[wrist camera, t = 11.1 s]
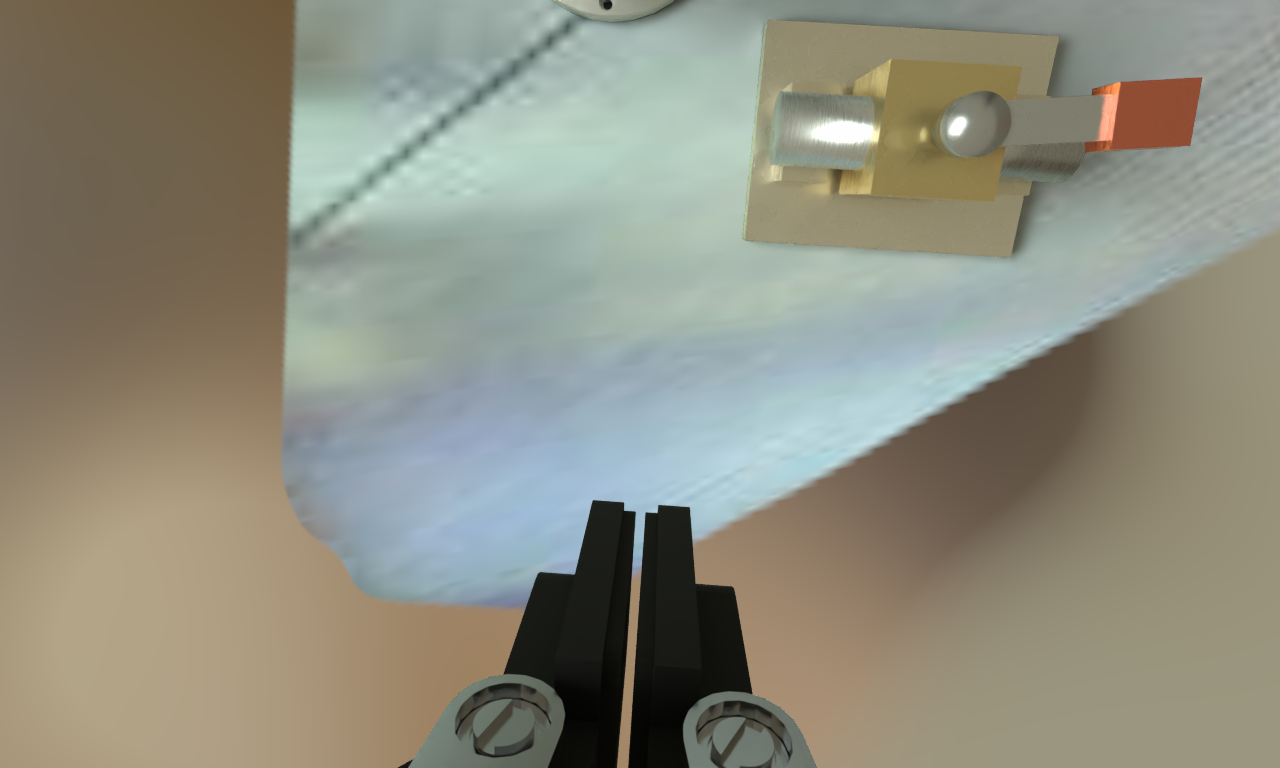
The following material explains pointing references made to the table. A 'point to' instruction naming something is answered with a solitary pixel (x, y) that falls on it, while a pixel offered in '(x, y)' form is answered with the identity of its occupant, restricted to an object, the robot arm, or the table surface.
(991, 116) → the valve lever
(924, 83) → the valve stand
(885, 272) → the table surface
